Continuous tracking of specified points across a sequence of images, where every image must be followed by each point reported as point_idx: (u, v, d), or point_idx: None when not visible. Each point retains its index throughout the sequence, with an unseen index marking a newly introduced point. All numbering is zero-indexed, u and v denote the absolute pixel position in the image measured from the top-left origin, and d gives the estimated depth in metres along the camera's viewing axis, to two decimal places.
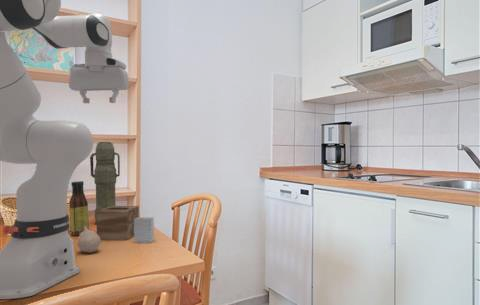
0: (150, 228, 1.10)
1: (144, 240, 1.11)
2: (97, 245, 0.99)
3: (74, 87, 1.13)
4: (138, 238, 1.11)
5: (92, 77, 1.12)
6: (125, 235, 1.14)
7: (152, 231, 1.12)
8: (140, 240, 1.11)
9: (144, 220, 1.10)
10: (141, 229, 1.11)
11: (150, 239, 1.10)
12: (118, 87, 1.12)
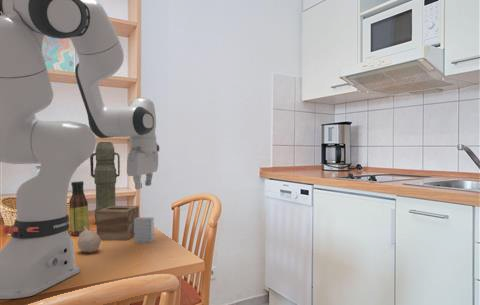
0: (150, 228, 1.10)
1: (144, 240, 1.11)
2: (97, 245, 0.99)
3: (140, 173, 1.04)
4: (138, 238, 1.11)
5: (146, 162, 1.10)
6: (125, 235, 1.14)
7: (152, 231, 1.12)
8: (140, 240, 1.11)
9: (144, 220, 1.10)
10: (141, 229, 1.11)
11: (150, 239, 1.10)
12: (155, 170, 1.19)
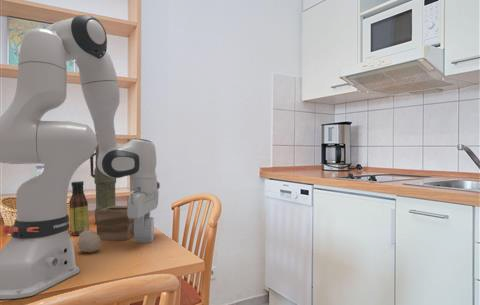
0: (150, 228, 1.10)
1: (144, 240, 1.11)
2: (97, 245, 0.99)
3: (140, 215, 1.04)
4: (138, 238, 1.11)
5: (146, 202, 1.10)
6: (125, 235, 1.14)
7: (152, 231, 1.12)
8: (140, 240, 1.11)
9: (144, 220, 1.10)
10: (141, 229, 1.11)
11: (150, 239, 1.10)
12: (155, 207, 1.19)
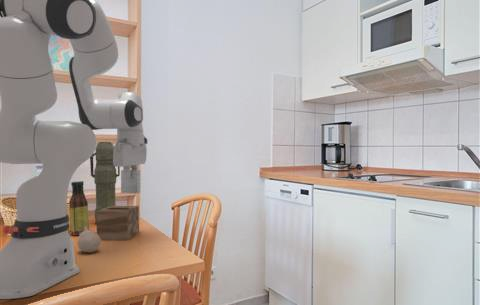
0: (136, 179, 1.14)
1: (130, 191, 1.15)
2: (97, 245, 0.99)
3: (125, 164, 1.08)
4: (124, 189, 1.15)
5: (133, 154, 1.14)
6: (125, 235, 1.14)
7: (138, 182, 1.15)
8: (127, 191, 1.15)
9: (131, 172, 1.14)
10: (127, 180, 1.15)
11: (136, 190, 1.14)
12: (143, 163, 1.23)
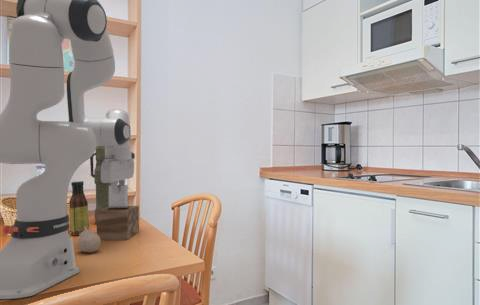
0: (124, 194, 1.18)
1: (118, 205, 1.18)
2: (97, 245, 0.99)
3: (113, 180, 1.11)
4: (112, 204, 1.18)
5: (120, 169, 1.18)
6: (125, 235, 1.14)
7: (126, 197, 1.19)
8: (114, 205, 1.18)
9: (118, 187, 1.18)
10: (115, 195, 1.18)
11: (124, 204, 1.18)
12: (131, 177, 1.27)
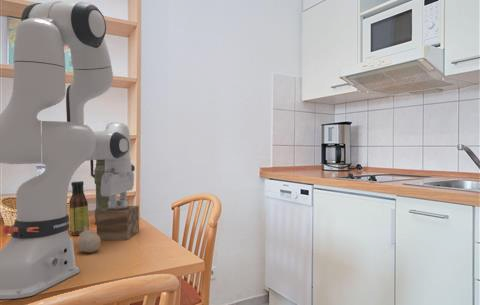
0: (123, 209, 1.18)
1: None
2: (97, 245, 0.99)
3: (113, 194, 1.11)
4: None
5: (120, 182, 1.18)
6: (125, 235, 1.14)
7: None
8: None
9: (118, 202, 1.18)
10: None
11: None
12: (131, 189, 1.27)
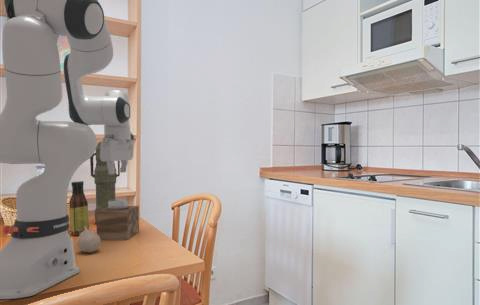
0: (123, 209, 1.18)
1: None
2: (97, 245, 0.99)
3: (112, 159, 1.11)
4: None
5: (120, 149, 1.18)
6: (125, 235, 1.14)
7: None
8: None
9: (118, 202, 1.18)
10: None
11: None
12: (130, 159, 1.27)
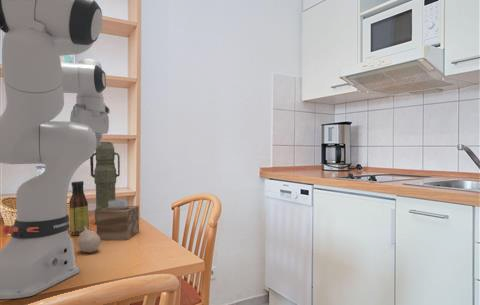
0: (123, 209, 1.18)
1: None
2: (97, 245, 0.99)
3: None
4: None
5: (92, 121, 1.14)
6: (125, 235, 1.14)
7: None
8: None
9: (118, 202, 1.18)
10: None
11: None
12: (105, 132, 1.23)
